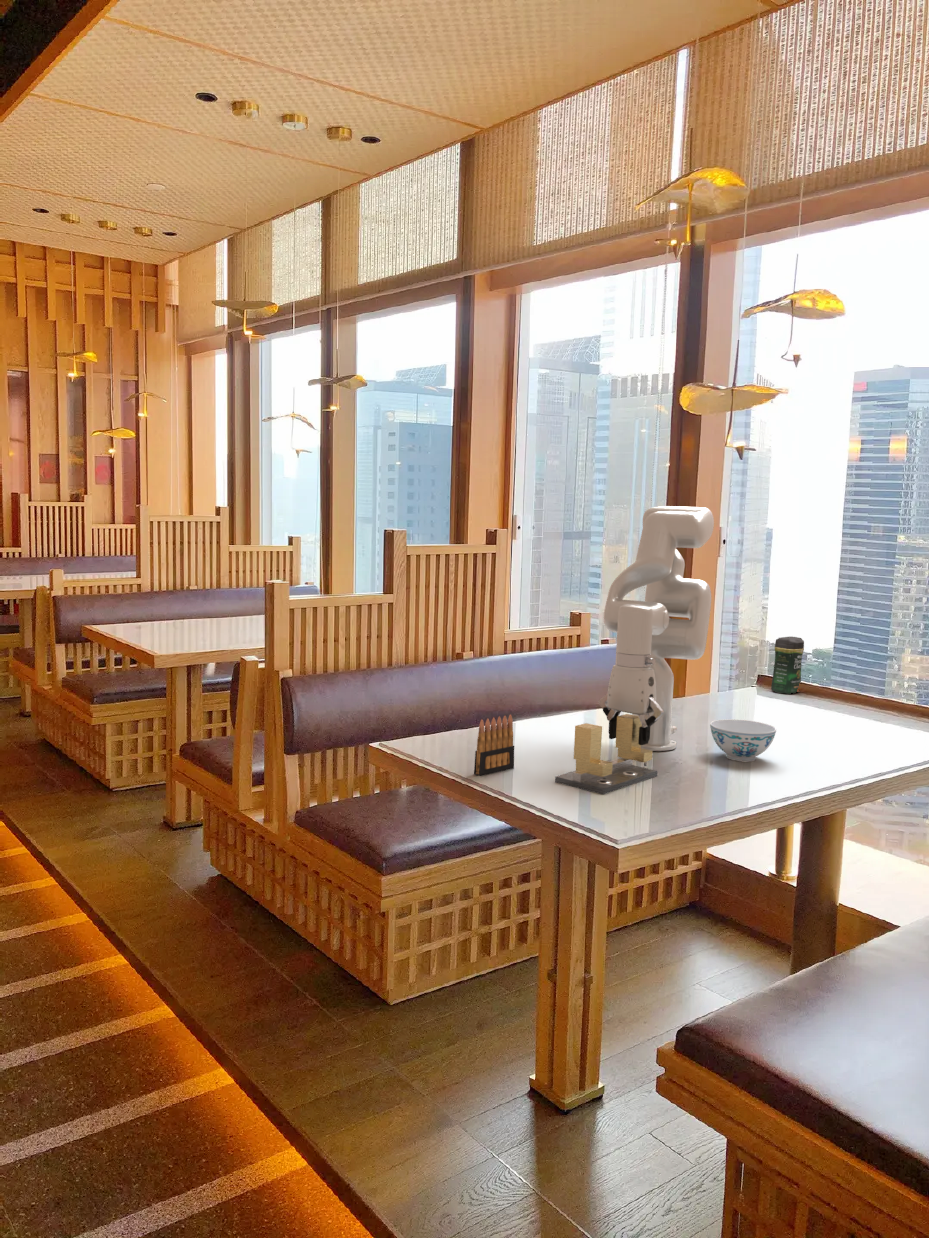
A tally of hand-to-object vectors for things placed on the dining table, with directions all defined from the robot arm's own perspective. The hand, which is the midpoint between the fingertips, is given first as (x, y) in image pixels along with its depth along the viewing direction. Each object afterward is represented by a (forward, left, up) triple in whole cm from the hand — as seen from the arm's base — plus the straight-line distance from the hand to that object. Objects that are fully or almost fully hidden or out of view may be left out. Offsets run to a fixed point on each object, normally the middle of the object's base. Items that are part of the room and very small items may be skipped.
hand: (628, 740), depth 217 cm
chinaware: (-31, +12, -7) cm, 34 cm away
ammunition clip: (+23, -19, -7) cm, 31 cm away
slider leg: (0, +2, -5) cm, 5 cm away
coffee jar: (-129, -19, -7) cm, 130 cm away
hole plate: (+9, +1, -7) cm, 12 cm away
